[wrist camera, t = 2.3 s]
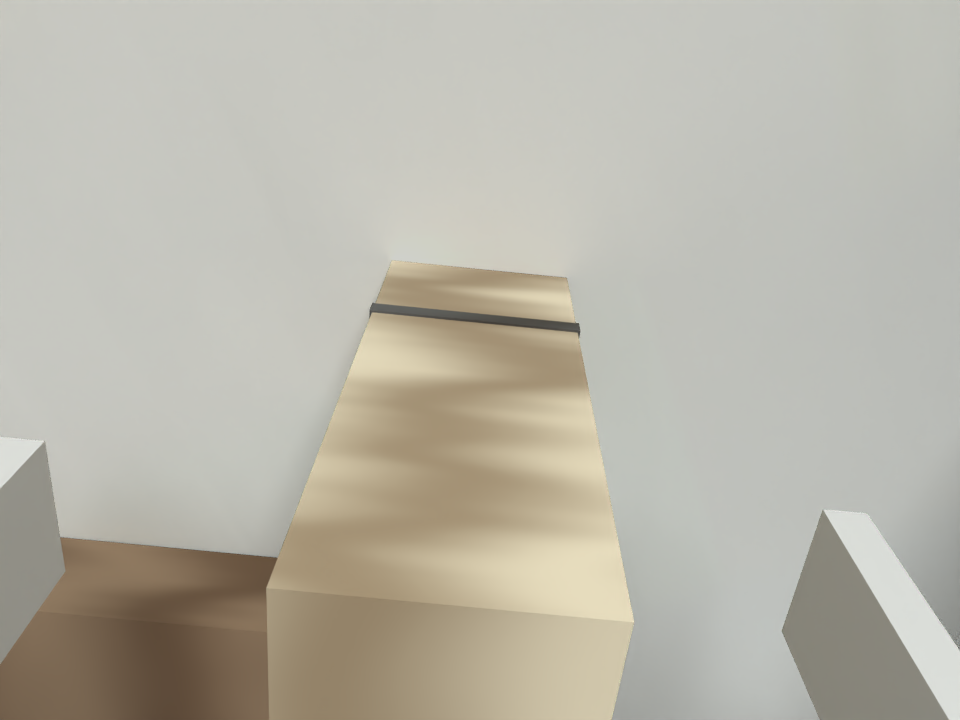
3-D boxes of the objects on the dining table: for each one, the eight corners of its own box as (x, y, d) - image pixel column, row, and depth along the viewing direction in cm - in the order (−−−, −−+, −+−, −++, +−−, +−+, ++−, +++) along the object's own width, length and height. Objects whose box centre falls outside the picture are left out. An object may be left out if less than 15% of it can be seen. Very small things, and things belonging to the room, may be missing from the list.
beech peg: (569, 276, 21) (639, 619, 10) (546, 430, 23) (582, 859, 12) (389, 258, 21) (261, 583, 10) (382, 414, 23) (268, 831, 12)
